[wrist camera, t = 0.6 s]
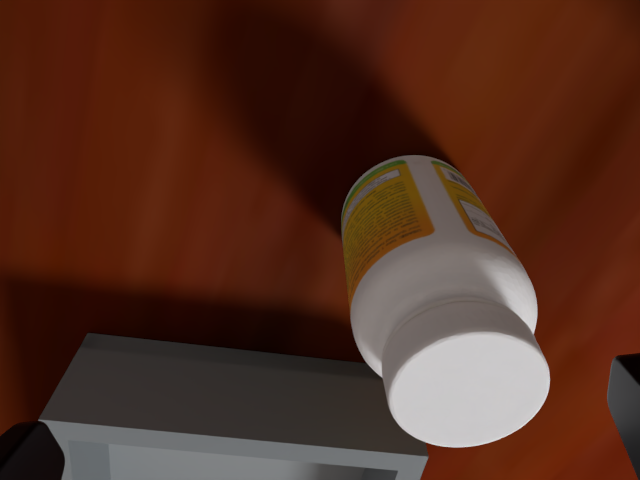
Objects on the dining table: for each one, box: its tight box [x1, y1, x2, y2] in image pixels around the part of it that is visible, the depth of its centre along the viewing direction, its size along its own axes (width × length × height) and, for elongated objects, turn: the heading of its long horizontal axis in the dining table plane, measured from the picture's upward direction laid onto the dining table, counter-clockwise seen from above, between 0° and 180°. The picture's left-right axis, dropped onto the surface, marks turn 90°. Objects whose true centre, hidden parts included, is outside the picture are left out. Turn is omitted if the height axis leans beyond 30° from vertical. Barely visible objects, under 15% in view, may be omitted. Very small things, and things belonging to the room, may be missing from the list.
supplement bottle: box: [341, 155, 550, 447], centre depth 17 cm, size 5×5×10 cm
